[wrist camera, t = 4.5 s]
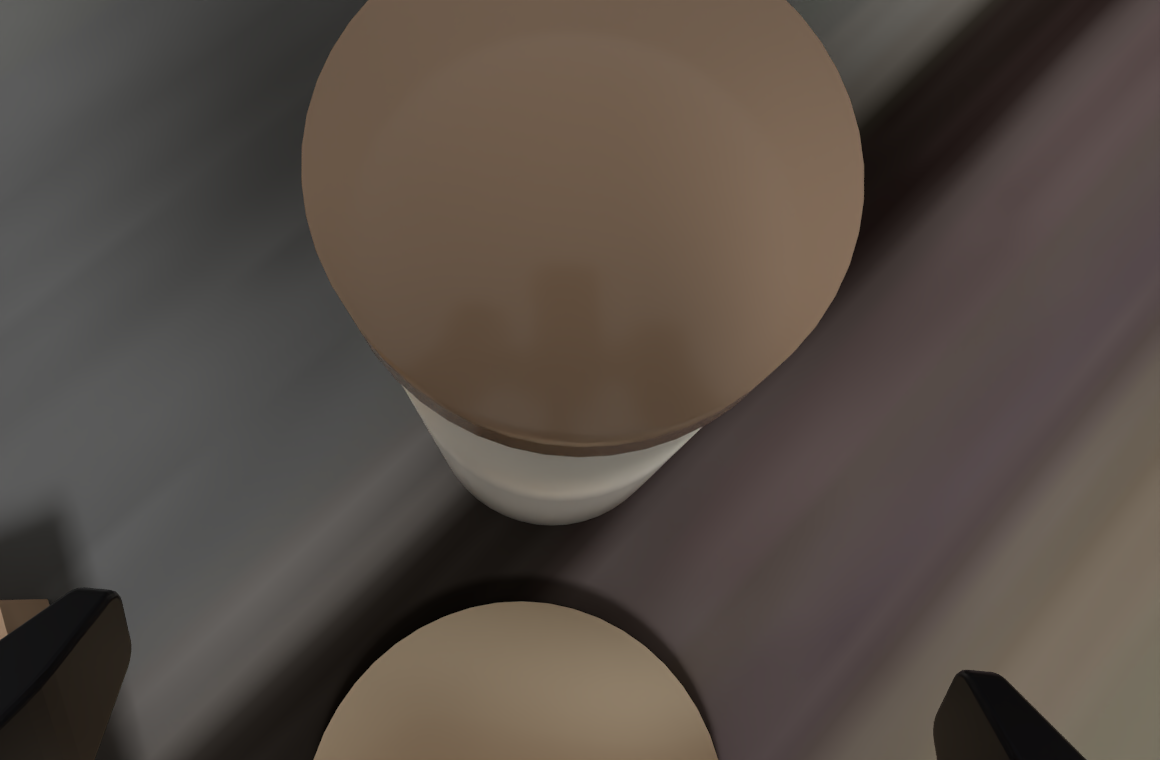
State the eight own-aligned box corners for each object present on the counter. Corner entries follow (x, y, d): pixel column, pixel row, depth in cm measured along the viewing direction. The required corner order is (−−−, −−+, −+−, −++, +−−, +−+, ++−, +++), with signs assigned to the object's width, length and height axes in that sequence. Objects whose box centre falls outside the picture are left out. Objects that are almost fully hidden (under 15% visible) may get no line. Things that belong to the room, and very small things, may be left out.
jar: (711, 474, 22) (959, 310, 9) (481, 568, 21) (416, 526, 9) (617, 259, 23) (727, -148, 11) (395, 340, 22) (226, 7, 10)
